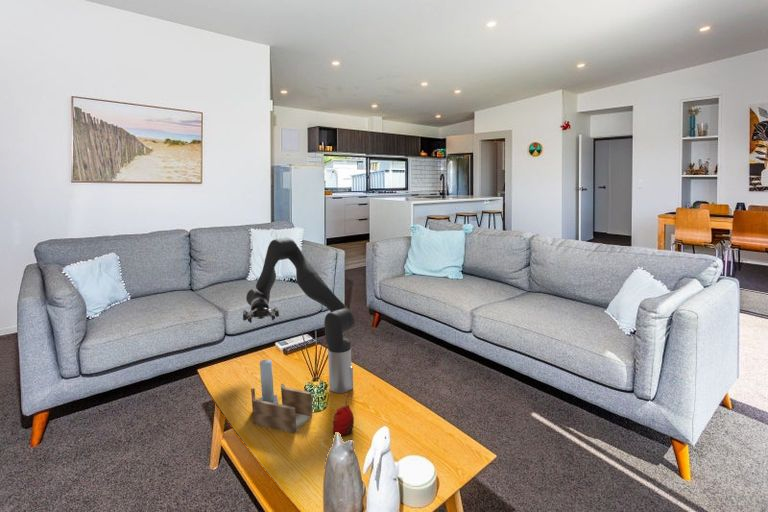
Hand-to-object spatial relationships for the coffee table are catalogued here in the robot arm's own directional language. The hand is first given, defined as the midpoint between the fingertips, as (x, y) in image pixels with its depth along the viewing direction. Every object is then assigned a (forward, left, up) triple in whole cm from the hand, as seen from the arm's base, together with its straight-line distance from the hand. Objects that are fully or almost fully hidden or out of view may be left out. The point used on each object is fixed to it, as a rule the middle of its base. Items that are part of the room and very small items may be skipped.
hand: (261, 319), depth 167 cm
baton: (0, +11, -30) cm, 32 cm away
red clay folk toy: (-23, +40, -30) cm, 55 cm away
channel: (-4, +26, -30) cm, 40 cm away
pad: (0, +11, -30) cm, 32 cm away
